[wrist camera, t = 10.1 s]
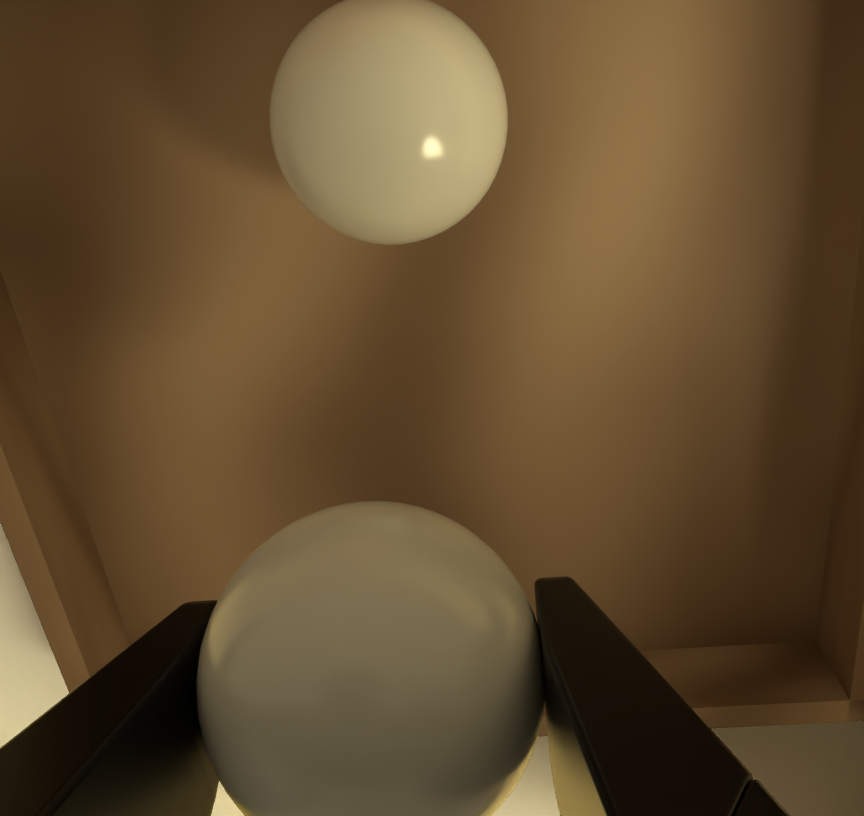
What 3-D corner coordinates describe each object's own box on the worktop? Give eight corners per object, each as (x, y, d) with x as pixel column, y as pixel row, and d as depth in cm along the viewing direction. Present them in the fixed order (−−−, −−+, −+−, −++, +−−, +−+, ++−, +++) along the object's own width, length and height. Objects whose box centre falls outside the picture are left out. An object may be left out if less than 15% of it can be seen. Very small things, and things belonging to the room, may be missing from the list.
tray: (930, -184, 12) (1029, -230, 10) (830, 641, 19) (876, 720, 17) (-118, -34, 14) (-229, -46, 12) (135, 681, 21) (95, 757, 18)
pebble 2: (522, 429, 9) (553, 648, 6) (540, 669, 11) (573, 949, 7) (217, 454, 9) (87, 677, 6) (277, 684, 11) (196, 961, 8)
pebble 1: (495, -18, 13) (502, -33, 10) (510, 207, 14) (522, 258, 11) (277, 11, 13) (214, 5, 10) (315, 227, 15) (271, 284, 12)
